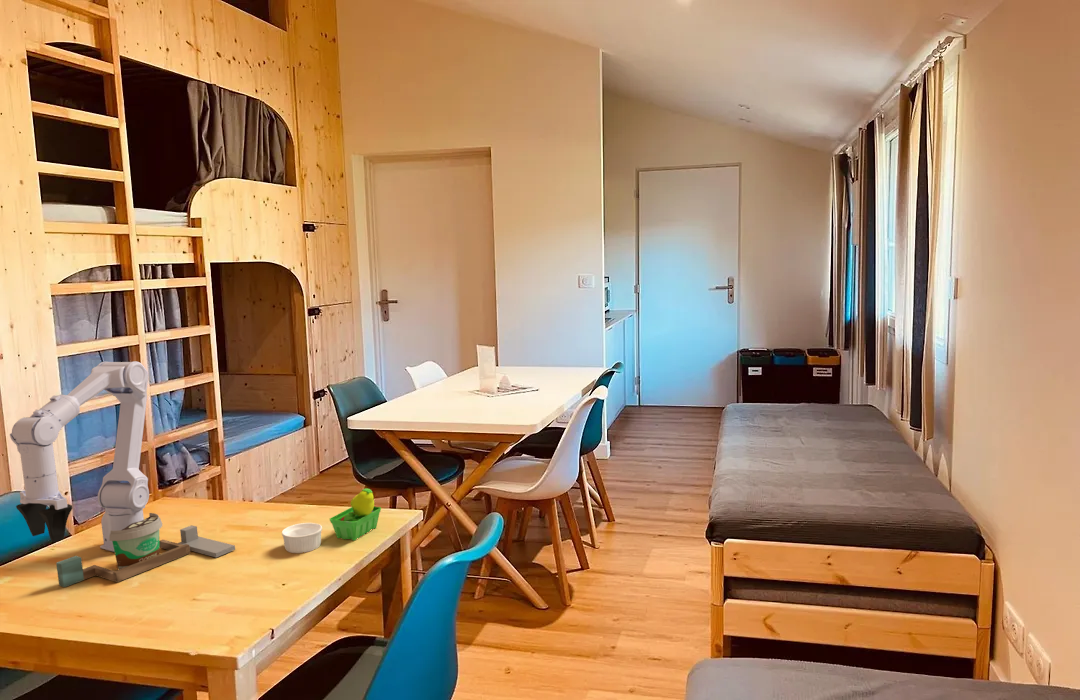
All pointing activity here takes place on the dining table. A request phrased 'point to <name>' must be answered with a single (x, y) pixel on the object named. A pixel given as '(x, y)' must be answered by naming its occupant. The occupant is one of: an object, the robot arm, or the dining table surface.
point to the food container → (137, 541)
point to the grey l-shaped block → (203, 543)
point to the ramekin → (302, 537)
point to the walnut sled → (74, 573)
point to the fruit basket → (357, 517)
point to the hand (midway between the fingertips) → (48, 537)
